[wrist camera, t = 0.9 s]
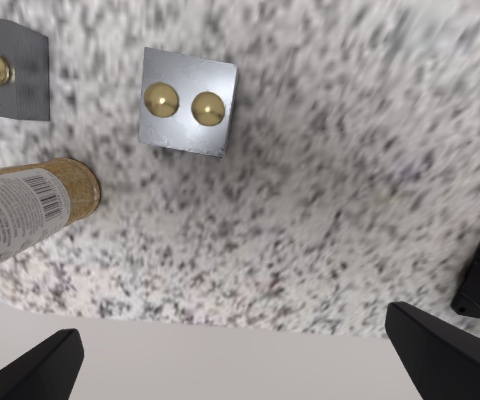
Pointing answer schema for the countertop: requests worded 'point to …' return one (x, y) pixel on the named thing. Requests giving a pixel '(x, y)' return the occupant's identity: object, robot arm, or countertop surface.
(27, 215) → the sprinkles bottle
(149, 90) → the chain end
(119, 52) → the countertop surface
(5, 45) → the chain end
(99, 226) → the countertop surface
